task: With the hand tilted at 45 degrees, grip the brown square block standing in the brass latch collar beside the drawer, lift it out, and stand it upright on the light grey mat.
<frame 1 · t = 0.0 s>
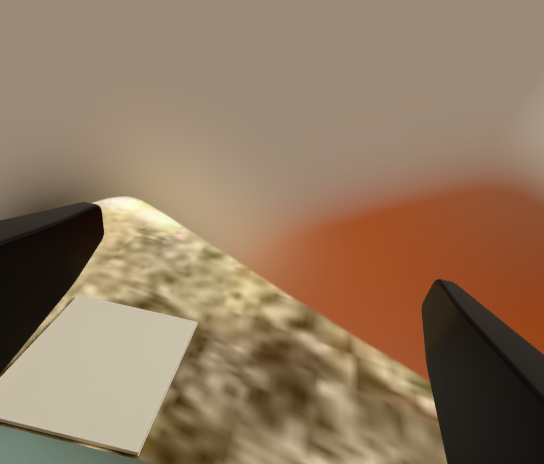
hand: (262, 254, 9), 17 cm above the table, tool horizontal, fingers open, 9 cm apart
grey mat: (103, 362, 24), on the table
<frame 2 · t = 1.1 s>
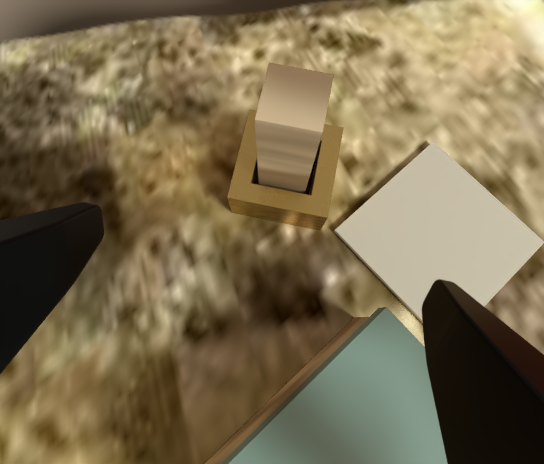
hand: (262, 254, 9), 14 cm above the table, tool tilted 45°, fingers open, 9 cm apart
grey mat: (436, 237, 24), on the table
brown square block: (288, 148, 20), in the latch collar
latch collar: (284, 180, 25), on the table
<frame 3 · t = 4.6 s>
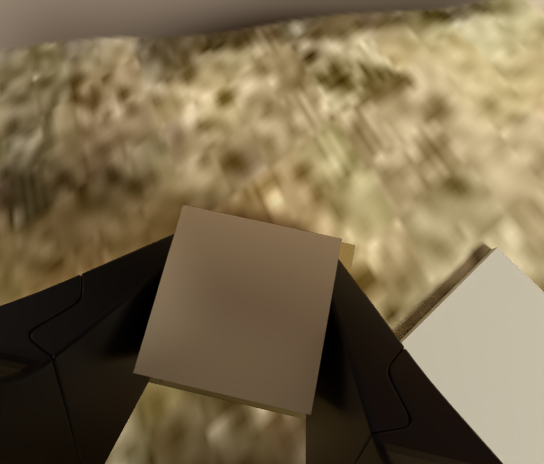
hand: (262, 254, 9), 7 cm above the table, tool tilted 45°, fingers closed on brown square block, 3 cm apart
grey mat: (505, 416, 14), on the table
brown square block: (253, 308, 11), in the latch collar, touching gripper
latch collar: (257, 311, 15), on the table
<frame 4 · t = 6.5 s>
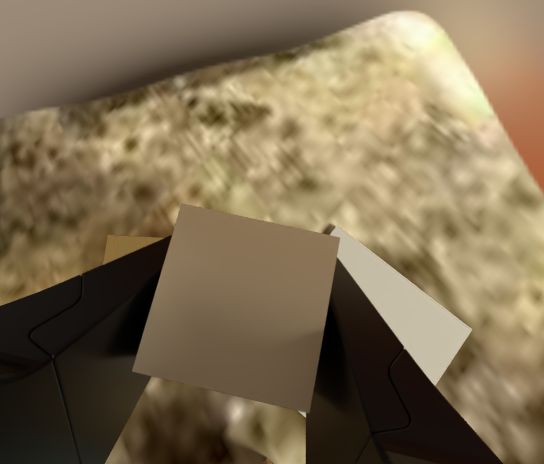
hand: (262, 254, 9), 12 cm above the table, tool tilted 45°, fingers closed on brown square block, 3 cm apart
grey mat: (352, 341, 21), on the table
brown square block: (252, 307, 11), point 11 cm above the table, touching gripper
latch collar: (172, 298, 21), on the table
when the fingers open (8 cm above the table, at t = 8.8 s): brown square block stays where it is, resting on grey mat.
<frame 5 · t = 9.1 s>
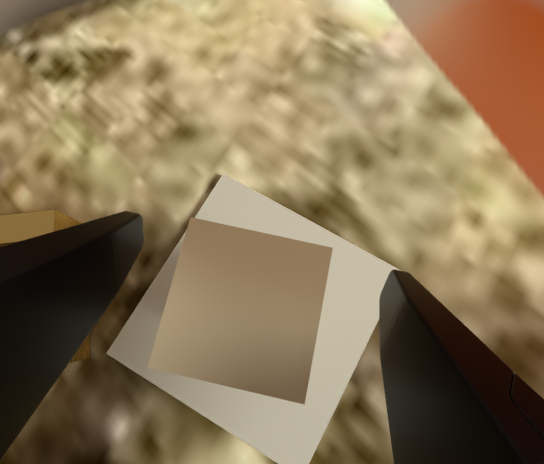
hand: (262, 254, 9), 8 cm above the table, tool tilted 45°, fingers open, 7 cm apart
grey mat: (258, 311, 16), on the table
brown square block: (253, 309, 11), on the grey mat
latch collar: (24, 297, 16), on the table
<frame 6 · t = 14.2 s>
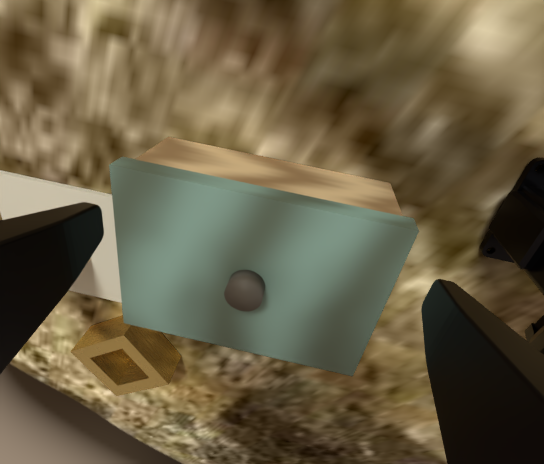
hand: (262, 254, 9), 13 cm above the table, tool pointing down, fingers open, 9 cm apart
drawer: (265, 227, 24), on the table
grey mat: (69, 241, 27), on the table
latch collar: (136, 341, 32), on the table
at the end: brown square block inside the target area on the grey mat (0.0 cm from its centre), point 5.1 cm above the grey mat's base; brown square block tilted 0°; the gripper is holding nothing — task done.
